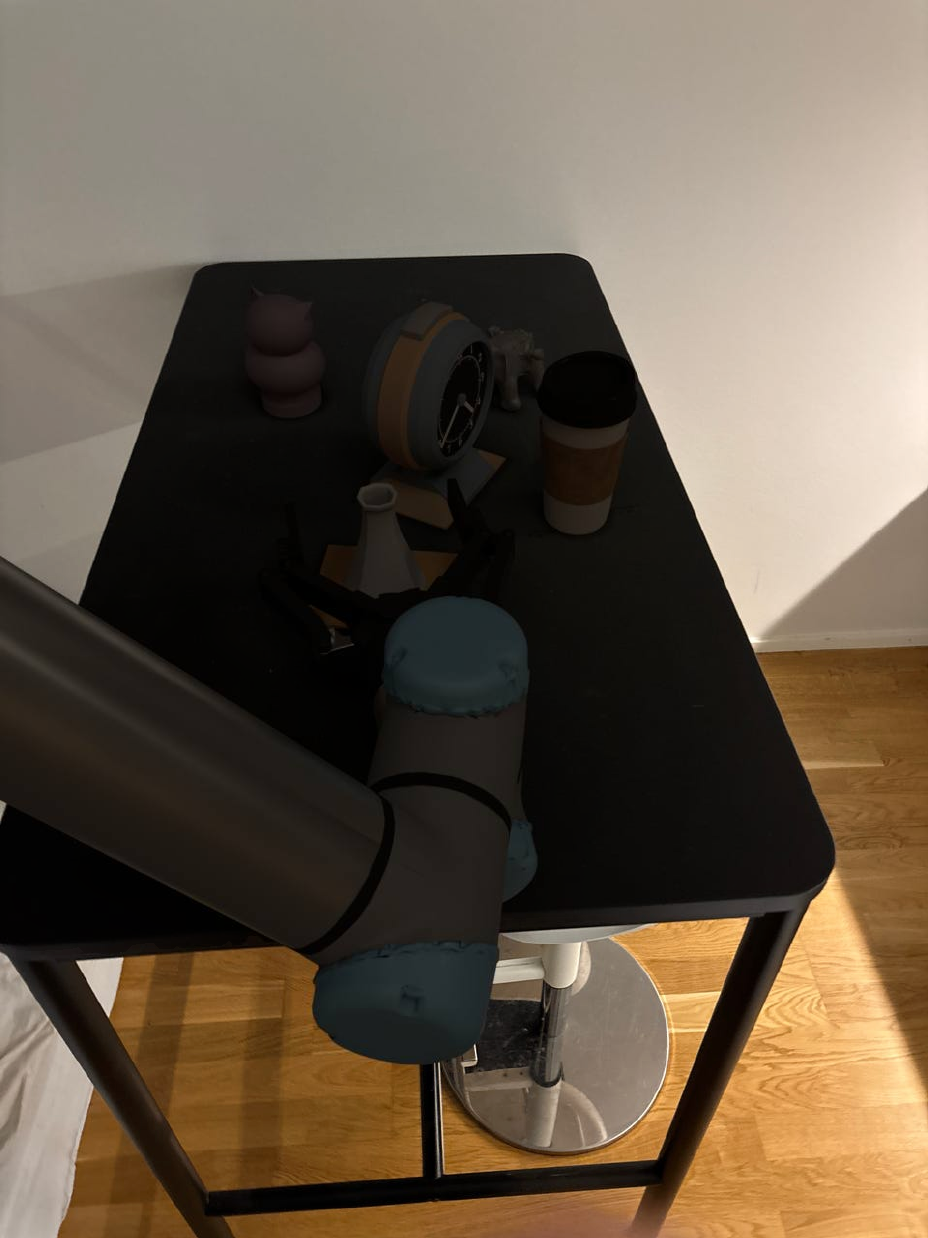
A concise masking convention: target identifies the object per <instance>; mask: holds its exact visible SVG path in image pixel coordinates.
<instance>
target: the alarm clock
mask: <svg viewBox="0 0 928 1238" xmlns="http://www.w3.org/2000/svg"><path fill="white" fill-rule="evenodd" d="M488 339H489V338H488V337H487V335H486V334H485V333H484V332H483V330H482V329H481V328H480V327H479V326H477V325H475V324H473V323H472V322H471V321H470V320H469V318H468V317H467V316H465V315H463V314H461V313H460V312H457V311H454V308H453V306H452V305H449V304H445V303H441V302H437V301H430V302H426V303H424V304H422V305H421V306H420V307H418V308H416V309H415V310H411V311H409V312H407V313H405V314H402V315H400V316H399V317H397V318H396V319H394V320H392V322H391V323H390V324H389V325H388V326H387V327H386V328H385V329H384V330H383V332H382V334H381V335H380V337H379V339H378V340H377V342H376V344H375V346H374V348H373V350H372V352H371V355H370V358H369V360H368V363H367V367H366V370H365V374H364V379H363V383H362V384H363V385H362V391H361V418H362V423H363V427H364V430H365V432H366V434H367V437H368V439H369V440H370V441H371V443H372V444H373V446H374V447H375V448H377V449H378V450H379V451H380V452H381V453H382V454H384V455H385V456H386V458H387V459H388V461H386V463H385V464H384V465H382V467H381V468H380V469H379V470H378V471H377V472H375V474H374V475H373V476H372V477H371V478H370V479H369V483H368V485H370V484H373V483H381V484H391V486H392V487H393V488H394V489H395V491H396V492H397V499H396V502H395V514H398V515H400V516H404V517H407V518H410V519H412V520H415V521H418V522H421V523H423V524H427V525H430V526H432V527H436V528H438V529H442V530H444V531H447V530H448V529H449V528H450V526H451V525H452V524H453V523H454V520H453V518H452V515H451V512H450V510H449V507H448V497H447V479H451V478H456V479H457V482H458V484H459V487H460V490H461V492H462V495H463V497H464V500H465V502H466V505H467V506H469V504H470V503H471V502H472V500H473V499H474V498H476V496H477V495H478V494H479V492H480V491H481V490H482V489H483V488H484V486H485V485H486V484H487V483H488V481H489V480H491V478H492V477H493V476H494V474H495V473H496V472H497V471H498V470H499V469H500V467H501V466H503V464H504V462H506V460H507V459H506V457H504V456H501V455H499V454H498V455H497V454H494V453H492V452H488V451H485V450H482V449H480V448H476V447H473V445H474V443H475V442H476V440H477V438H478V436H479V434H480V433H481V430H482V428H483V425H484V423H485V421H486V419H487V418H486V417H487V415H488V412H489V408H490V405H491V401H492V396H493V390H494V383H495V382H494V354H493V350H492V346H491V343H490V341H489V340H488ZM355 500H357V496H356V499H355Z"/></svg>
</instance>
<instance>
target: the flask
mask: <svg viewBox="0 0 928 1238" xmlns="http://www.w3.org/2000/svg"><path fill="white" fill-rule="evenodd" d="M369 484H370V483H369ZM369 484H367V485H364V486H361V487H360V488H359V491H358V493H357V496H356V497H357V499H356V501H357V503H358V504H359V506H360V507H361V526H360V534H359V538H358V542H357V545H356V546H357V548H356V551H355V555H354V558H353V561H352V564H351V567H350V570H349V573H348V575H347V578H346V581H345V584H344V587H345V588H347V589H349V590H351V591H355V590H360V591H362V592H364V593H365V594H367V595H369V596H371V597H373V598H375V599H376V598H378V597H379V594H383V593H400V592H403V591H405V590H408V589H412V588H418V587H419V588H420V590H424V588H425V585H426V581H427V579H426V577H425V575H424V573H423V571H422V570H421V568H420V566H419V564H418V563H417V561H416V559H415V557H414V556H413V554H412V552H411V548H410V546H409V544H408V541H406V539H405V537H404V535H403V533H402V531H401V528H400V524H399V521H398V518H397V515H396V514H397V513H395V502H396V499H397V492H396V491H395V489H394V488H393V487H392V486H391V484H381V483H373V484H370V485H369Z"/></svg>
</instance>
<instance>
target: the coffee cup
mask: <svg viewBox="0 0 928 1238" xmlns="http://www.w3.org/2000/svg"><path fill="white" fill-rule="evenodd" d="M637 400H638V392H637V390H636V371H635V368H634V367H633V365H632V363H630V362H629V360H628V359H627V358H625V357H623V356H621V355H617V354H615V353H613V352H609V351H603V350H585V351H580V352H575V353H572V354H569V355H566V356H563V357H561V358H559V359H557V360H555V361H554V362H553V363H551V364H549V366H548V367H547V368H546V369H545V372H544V374H543V378H542V383H541V384H540V386H539V388H538V393H537V395H536V402H537V406H538V408H539V410H540V411H541V415H540V418H539V435H540V454H541V455H540V456H541V474H542V485H543V486H542V487H543V490H542V491H543V516H544V518H545V520H546V522H547V524H549V526H551V527H552V528H553V529H555V530H557V531H559V532H562V533H564V534H569V535H576V536H577V535H578V536H579V535H587V534H591V533H594V532H597V531H598V530H600V529H601V528H602V527H603V526H604V525H605V524H606V522H607V520H608V516H609V512H610V508H611V503H612V498H613V494H614V490H615V486H616V483H617V479H618V476H619V475H618V474H619V470H620V467H621V463H622V459H623V456H624V452H625V447H626V443H627V439H628V436H629V431H630V422H629V421H630V418H631V417H632V416H633V414H634V413H635V412H636V409H637V405H638V404H637V403H638V401H637Z"/></svg>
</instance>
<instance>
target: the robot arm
mask: <svg viewBox="0 0 928 1238" xmlns="http://www.w3.org/2000/svg"><path fill="white" fill-rule="evenodd" d="M447 497H448V507H449V510H450V512H451V515H452V518H453V520H454V522H453V523H454V526H455V528H456V531H457V534H458V537H459V540H460V542H461V545H462V549H461V550H460V552H459V553H458V555H457V557H456V558H455V559H454V561H453V562H452V563H451V565H450V566H449V567H448V569H447V570H446V571H445V573H444V574H443V575H442V576H438V577H437V578H436V579H435V581H434V582H433V583H432V585H431V586H430V587H429V588H428V590H427V591H424V590H420V588H419V587H418V588H412V589H408V590H405V591H403V592H400V593H383V594H379V597H378V598H376V599H375V598H373V597H371V596H369V595H367V594H365V593H364V592H362V591H360V590H355V591H351V590H349V589H347V588H345V587H343V586H342V585H340V584H338V583H336V582H334V581H332V580H330V579H328V578H327V577H325V576H323V575H321V574H319V573H320V572H317V571H315V570H314V569H312V568H309V567H307V566H306V563H305V557H304V552H303V547H302V541H301V536H300V532H299V525H298V520H297V515H296V509H295V506H294V502H293V501H292V502H285V503H283V506H284V512H285V513H284V514H285V519H286V525H287V530H288V536H282V537H277V538H276V541H275V546H276V547H275V548H276V552H277V559H278V565H277V566H276V567H274V568H273V569H271V568H269V567H263V568H260V569H259V570H258V571H257V572H256V579H257V584H258V588H259V595H260V597H261V600H262V601H263V602H264V603H265V604H266V605H267V606H268V607H269V608H270V609H271V610H272V611H273V612H274V613H275V614H276V615H277V616H278V617H279V618H280V619H281V620H282V621H283V622H284V623H285V624H286V625H287V626H288V627H289V628H290V629H291V630H292V631H293V632H294V633H295V634H296V635H297V636H298V637H299V638H300V639H301V640H302V641H303V642H304V643H305V644H306V645H307V646H308V647H309V648H310V649H311V650H312V653H313V655H314V658H315V660H316V663H317V666H318V668H320V669H321V670H329V669H332V668H333V667H334V665H335V659H337V658H342V657H346V656H349V655H353V654H354V655H355V656H356V657H357V658H358V659H359V660H360V661H361V663H362V668H363V671H364V676H365V680H366V684H367V685H366V686H367V688H368V693H369V698H370V701H371V703H372V708H373V715H374V719H375V724H376V729H377V732H378V735H377V739H376V743H375V747H374V751H373V755H372V759H371V763H370V767H369V772H368V775H367V776H368V777H367V780H366V784H365V785H364V784H363V783H361V782H360V781H359V780H357V779H356V778H354V777H352V776H350V775H349V774H347V773H346V772H344V771H342V770H341V769H339V768H337V767H336V766H334V765H333V764H331V763H330V762H328V761H327V760H325V759H323V758H322V757H320V756H319V755H317V754H316V753H314V752H312V751H311V750H309V749H307V748H306V747H305V746H302V745H301V744H299V743H298V742H297V741H295V740H293V739H292V738H290V737H288V736H287V735H285V733H282V732H281V731H280V730H277V729H276V728H274V727H273V726H271V725H269V724H268V723H267V722H265V721H263V720H261V719H260V718H259V717H257V716H255V715H253V714H252V713H250V712H249V711H248V710H246V709H244V708H243V707H241V706H240V705H238V704H237V703H235V702H233V701H232V700H230V699H228V698H227V697H225V696H224V695H222V694H220V693H219V692H218V691H216V690H214V689H212V688H211V687H210V686H208V685H206V684H205V683H204V682H201V681H199V680H198V679H197V678H195V677H194V676H192V675H190V674H189V673H188V672H186V671H184V670H182V669H181V668H179V667H178V666H176V665H175V664H173V663H171V662H169V661H168V660H166V659H165V658H163V657H161V656H160V655H158V654H157V653H155V652H154V651H152V650H151V649H149V648H147V647H146V646H144V645H143V644H141V643H140V642H138V641H136V640H134V639H133V638H131V637H130V636H128V635H127V634H126V633H124V632H122V631H120V630H119V629H117V628H116V627H115V626H113V625H111V624H110V623H107V622H106V621H105V620H103V619H102V618H100V617H99V616H97V615H95V614H94V613H92V612H90V611H89V610H88V609H86V608H84V607H83V606H81V605H79V604H78V603H76V602H74V601H73V600H71V599H70V598H68V597H67V596H65V595H63V594H62V593H60V592H58V591H57V590H56V589H54V588H52V587H50V586H49V585H48V584H46V583H44V582H43V581H41V580H40V579H38V578H36V577H35V576H33V575H32V574H30V573H29V572H27V571H25V570H24V569H22V568H20V567H19V566H17V565H16V564H14V563H12V562H11V561H9V560H8V559H6V558H5V557H3V556H2V555H0V802H2V803H4V804H6V805H8V806H10V807H12V808H14V809H16V810H18V811H20V812H22V813H24V814H25V815H28V816H30V817H32V818H34V819H36V820H38V821H39V822H41V823H44V824H46V825H47V826H50V827H51V828H53V829H55V830H56V831H59V832H61V833H62V834H65V835H67V836H69V837H71V838H73V839H74V840H76V841H78V842H81V843H83V844H85V845H86V846H88V847H91V848H92V849H95V850H97V851H99V852H100V853H102V854H104V855H106V856H108V857H110V858H111V859H114V860H116V861H118V862H120V863H121V864H124V865H126V866H127V867H130V868H132V869H134V870H135V871H138V872H139V873H142V874H143V875H146V876H147V877H149V878H151V879H154V881H157V882H159V883H161V884H163V885H165V886H167V887H169V888H170V889H173V890H175V891H177V892H178V893H181V894H183V895H185V896H187V897H188V898H190V899H192V900H194V901H197V902H198V903H200V904H202V905H204V906H207V907H208V908H210V909H212V910H214V911H216V912H218V913H220V914H222V915H224V916H226V917H228V918H229V919H232V920H234V921H236V922H238V923H240V924H241V925H243V926H245V927H248V928H250V929H251V930H253V931H255V932H257V933H259V934H261V935H263V936H265V937H267V938H269V939H271V940H273V941H274V942H277V943H279V944H280V945H282V946H284V947H285V948H287V949H288V950H290V951H293V952H295V953H297V954H299V955H301V957H303V958H304V959H306V960H309V961H310V962H312V963H313V964H315V965H317V967H318V969H317V970H316V971H315V974H314V976H313V978H312V984H313V985H314V991H313V992H314V993H313V999H312V1003H311V1011H312V1012H311V1013H312V1017H313V1020H314V1022H315V1024H316V1026H317V1028H319V1030H321V1031H322V1032H324V1033H325V1034H327V1035H328V1038H329V1039H330V1040H331V1041H332V1042H333V1043H334V1044H335V1045H337V1046H338V1047H340V1048H342V1049H344V1050H346V1051H348V1052H351V1053H353V1054H356V1055H359V1056H361V1057H364V1058H367V1059H371V1060H375V1061H379V1062H384V1063H388V1064H389V1063H390V1064H396V1065H397V1064H398V1065H406V1066H407V1065H409V1066H410V1065H413V1066H414V1065H415V1066H425V1065H432V1064H440V1063H441V1062H444V1061H447V1060H452V1059H456V1058H459V1057H461V1056H463V1055H465V1054H466V1053H468V1052H470V1050H471V1049H472V1048H474V1047H475V1045H476V1044H477V1043H478V1042H479V1041H480V1038H481V1036H482V1034H483V1032H484V1029H485V1027H486V1021H487V1016H488V1012H489V1006H490V1001H491V997H492V990H493V986H494V980H495V976H496V969H497V966H498V963H499V961H500V947H498V946H499V937H500V929H501V917H502V908H503V903H505V902H508V900H510V899H512V898H513V897H515V896H516V895H518V894H520V892H521V891H523V890H524V889H525V888H526V887H527V886H528V885H529V883H531V881H533V878H534V876H535V875H536V871H537V868H538V854H537V851H536V847H535V843H534V839H533V835H532V832H533V826H532V823H531V822H529V821H528V819H527V815H526V813H525V811H524V807H523V802H522V779H523V755H522V754H523V744H524V733H525V724H526V710H527V699H528V692H529V683H530V678H531V677H532V676H531V672H530V669H529V668H528V644H527V639H526V636H525V634H524V632H523V629H522V628H521V626H520V625H519V623H518V622H517V620H516V619H515V618H514V617H512V615H511V614H510V613H508V611H506V610H505V609H503V608H502V602H503V600H504V599H503V598H504V595H505V592H506V588H507V584H508V581H509V578H510V574H511V571H512V567H513V564H514V561H515V553H516V550H515V549H516V531H515V530H514V529H512V528H504V529H502V530H500V532H495V531H493V530H491V529H490V528H489V527H488V524H487V522H486V519H485V517H484V514H483V512H482V510H481V508H480V507H478V506H471V507H468V505H466V502H465V500H464V497H463V495H462V492H461V490H460V487H459V484H458V482H457V479H456V478H451V479H447ZM487 563H488V564H489V567H488V571H487V574H486V577H485V581H484V584H483V588H482V596H481V597H482V598H476V597H471V598H470V597H467V596H463V595H464V594H465V593H466V591H467V590H468V589H469V587H470V586H471V585H472V583H473V581H475V579H476V577H477V576H478V575H479V573H480V572H481V571H482V569H483V568H484V566H485V565H486V564H487ZM309 604H310V605H312V606H314V607H316V608H318V609H320V610H321V611H323V612H325V613H327V614H329V615H330V616H332V617H334V618H336V619H338V620H340V621H341V622H343V623H345V624H346V625H347V627H348V628H349V629H350V630H349V631H350V634H349V635H343V634H342V633H340V632H339V630H338V629H335V628H334V626H331V625H330V626H326V624H325V622H324V621H323V619H322V618H321V617H320V616H319V615H318V614H317V613H316V612H315V611H314V610H313V609H312V608H311V607H310V606H309Z"/></svg>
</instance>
